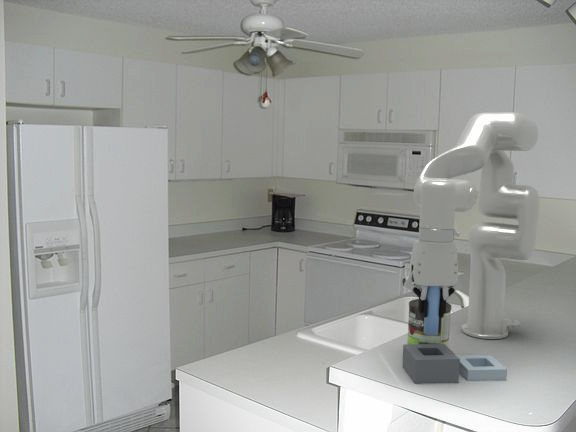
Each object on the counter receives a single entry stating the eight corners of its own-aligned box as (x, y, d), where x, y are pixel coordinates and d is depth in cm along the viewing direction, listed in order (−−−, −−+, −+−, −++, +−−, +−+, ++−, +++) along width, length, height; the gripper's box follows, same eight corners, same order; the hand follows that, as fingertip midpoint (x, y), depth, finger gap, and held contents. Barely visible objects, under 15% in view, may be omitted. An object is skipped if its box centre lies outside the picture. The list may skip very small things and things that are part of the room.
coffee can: (421, 368, 144) (423, 311, 142) (398, 354, 153) (400, 300, 151) (457, 363, 147) (460, 307, 145) (433, 349, 157) (435, 297, 155)
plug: (435, 331, 139) (438, 279, 137) (439, 335, 135) (442, 283, 134) (421, 331, 138) (424, 279, 137) (426, 335, 135) (428, 282, 134)
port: (443, 367, 144) (444, 343, 143) (458, 384, 134) (459, 359, 134) (402, 368, 143) (403, 344, 142) (414, 385, 133) (415, 359, 133)
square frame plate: (489, 367, 145) (490, 355, 145) (506, 382, 136) (506, 369, 136) (453, 367, 144) (453, 355, 144) (467, 382, 135) (468, 370, 135)
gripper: (465, 234, 139) (460, 311, 141) (395, 232, 137) (391, 311, 139) (478, 238, 131) (473, 320, 134) (404, 237, 130) (400, 320, 132)
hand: (431, 315), depth 136 cm, fingers closed on plug, 3 cm apart
